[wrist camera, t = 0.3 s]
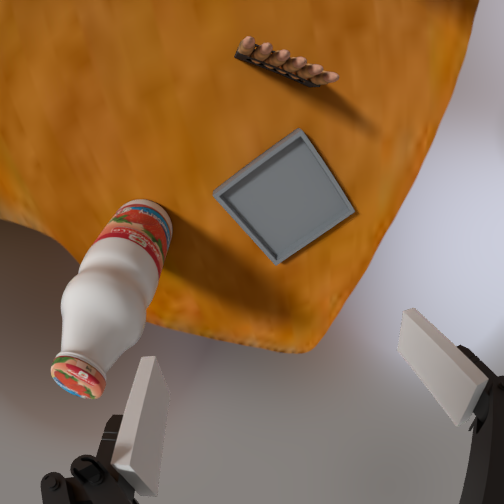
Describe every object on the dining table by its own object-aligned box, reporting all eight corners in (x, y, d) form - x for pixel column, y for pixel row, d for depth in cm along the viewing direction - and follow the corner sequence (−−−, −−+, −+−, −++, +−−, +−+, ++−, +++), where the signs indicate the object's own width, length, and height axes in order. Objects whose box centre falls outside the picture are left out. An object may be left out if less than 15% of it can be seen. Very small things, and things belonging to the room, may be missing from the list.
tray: (298, 127, 37) (301, 129, 36) (350, 206, 44) (355, 211, 42) (213, 190, 41) (212, 195, 39) (273, 258, 48) (275, 265, 46)
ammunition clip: (315, 76, 34) (350, 73, 23) (310, 87, 34) (342, 89, 24) (239, 45, 31) (244, 26, 21) (234, 57, 32) (236, 43, 21)
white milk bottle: (105, 230, 43) (20, 374, 19) (135, 184, 40) (37, 325, 16) (152, 263, 46) (106, 422, 23) (186, 222, 43) (149, 390, 19)
